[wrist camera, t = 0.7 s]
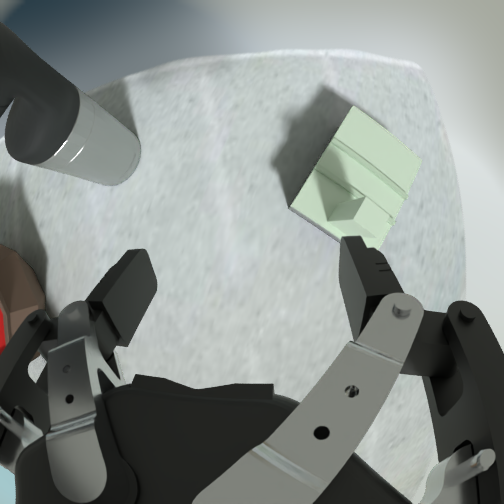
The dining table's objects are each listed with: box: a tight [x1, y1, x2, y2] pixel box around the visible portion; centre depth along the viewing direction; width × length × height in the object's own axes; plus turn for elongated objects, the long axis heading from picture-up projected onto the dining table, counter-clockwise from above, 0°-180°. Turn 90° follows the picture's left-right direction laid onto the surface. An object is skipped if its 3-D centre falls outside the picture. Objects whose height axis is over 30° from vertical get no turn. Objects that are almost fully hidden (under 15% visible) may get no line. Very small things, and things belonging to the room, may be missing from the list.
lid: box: [291, 105, 422, 250], centre depth 27 cm, size 12×16×9 cm
